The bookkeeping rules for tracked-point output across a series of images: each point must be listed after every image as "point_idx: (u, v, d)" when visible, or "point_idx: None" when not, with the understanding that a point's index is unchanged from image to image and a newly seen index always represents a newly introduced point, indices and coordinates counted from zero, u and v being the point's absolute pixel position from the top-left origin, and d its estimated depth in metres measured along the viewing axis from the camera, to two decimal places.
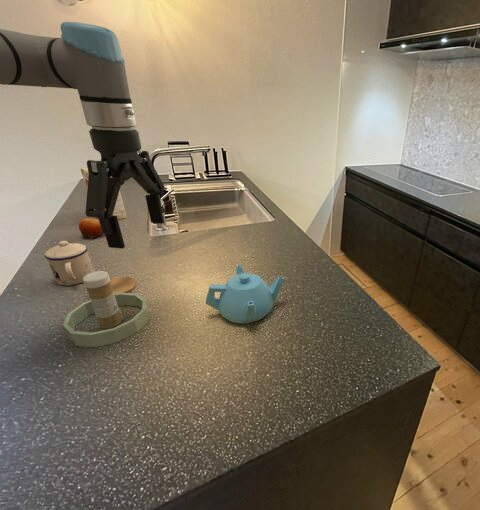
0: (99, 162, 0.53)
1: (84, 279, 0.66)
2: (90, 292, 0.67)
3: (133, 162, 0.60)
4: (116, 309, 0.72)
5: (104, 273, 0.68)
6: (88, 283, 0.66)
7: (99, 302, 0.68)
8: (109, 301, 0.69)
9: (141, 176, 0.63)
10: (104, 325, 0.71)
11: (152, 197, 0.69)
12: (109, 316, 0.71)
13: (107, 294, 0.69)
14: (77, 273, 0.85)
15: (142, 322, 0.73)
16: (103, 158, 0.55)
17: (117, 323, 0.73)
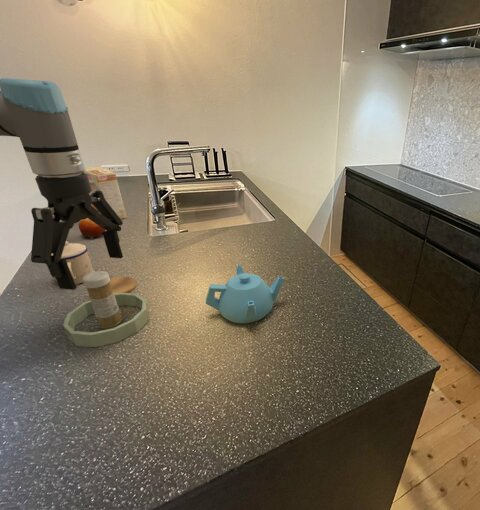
0: (43, 210, 0.54)
1: (84, 279, 0.66)
2: (90, 292, 0.67)
3: (84, 204, 0.61)
4: (116, 309, 0.72)
5: (104, 273, 0.68)
6: (88, 283, 0.66)
7: (99, 302, 0.68)
8: (109, 301, 0.69)
9: (94, 215, 0.64)
10: (104, 325, 0.71)
11: (109, 233, 0.70)
12: (109, 316, 0.71)
13: (107, 294, 0.69)
14: (77, 273, 0.85)
15: (142, 322, 0.73)
16: (50, 203, 0.56)
17: (117, 323, 0.73)
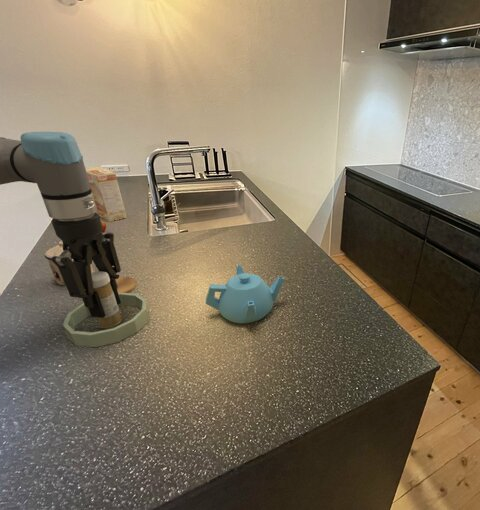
0: (62, 260, 0.58)
1: None
2: None
3: (96, 241, 0.64)
4: (116, 309, 0.72)
5: (104, 273, 0.68)
6: None
7: None
8: (109, 301, 0.69)
9: (100, 256, 0.67)
10: (104, 325, 0.71)
11: None
12: (109, 316, 0.71)
13: (107, 294, 0.69)
14: None
15: (142, 322, 0.73)
16: (65, 244, 0.60)
17: (117, 323, 0.73)
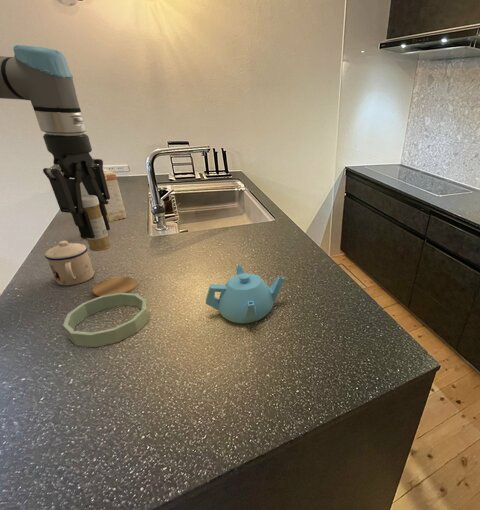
0: (53, 171, 0.63)
1: None
2: None
3: (85, 161, 0.69)
4: (105, 233, 0.76)
5: (93, 196, 0.73)
6: None
7: None
8: (98, 223, 0.74)
9: (89, 178, 0.71)
10: (94, 247, 0.75)
11: None
12: (98, 238, 0.75)
13: (96, 216, 0.73)
14: (77, 273, 0.85)
15: (142, 322, 0.73)
16: (56, 159, 0.64)
17: (106, 247, 0.77)
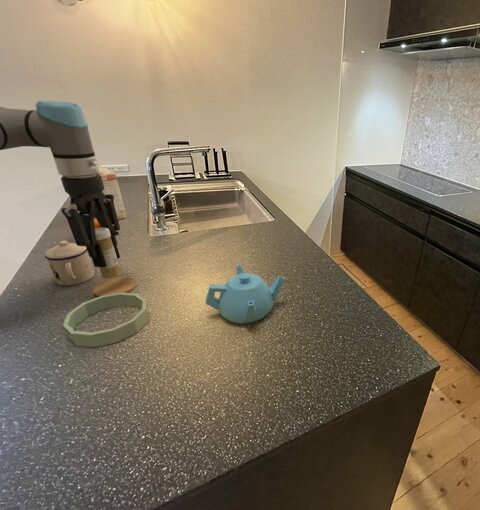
0: (70, 211, 0.69)
1: None
2: None
3: (98, 198, 0.75)
4: (116, 262, 0.82)
5: (105, 228, 0.79)
6: None
7: None
8: (110, 253, 0.80)
9: (102, 212, 0.77)
10: (106, 275, 0.82)
11: None
12: (110, 267, 0.81)
13: (108, 247, 0.79)
14: (77, 273, 0.85)
15: (142, 322, 0.73)
16: (72, 199, 0.70)
17: (117, 274, 0.83)
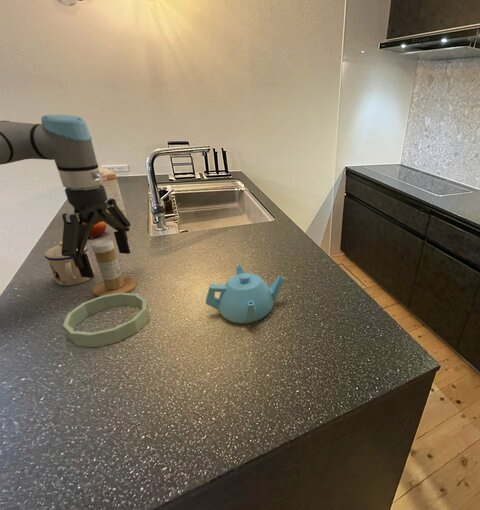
0: (71, 215, 0.69)
1: (92, 245, 0.78)
2: (97, 256, 0.79)
3: (101, 210, 0.76)
4: (119, 273, 0.84)
5: (109, 241, 0.81)
6: (95, 248, 0.78)
7: (105, 266, 0.80)
8: (113, 265, 0.82)
9: (108, 219, 0.80)
10: (109, 286, 0.83)
11: (119, 233, 0.85)
12: (113, 278, 0.83)
13: (111, 259, 0.81)
14: (77, 273, 0.85)
15: (142, 322, 0.73)
16: (76, 210, 0.72)
17: (120, 285, 0.85)
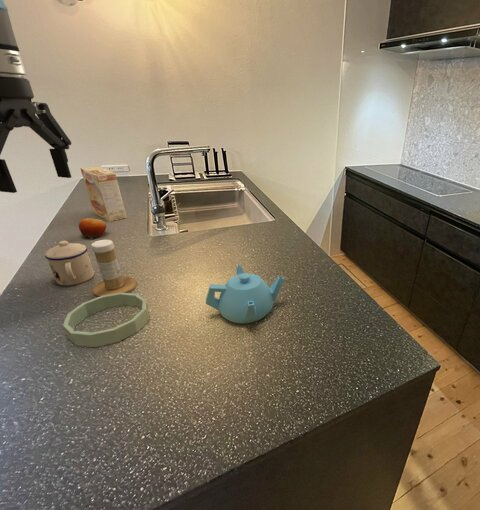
0: None
1: (92, 245, 0.78)
2: (97, 256, 0.79)
3: (26, 110, 0.62)
4: (119, 273, 0.84)
5: (109, 241, 0.81)
6: (95, 248, 0.78)
7: (105, 266, 0.80)
8: (113, 265, 0.82)
9: (38, 126, 0.66)
10: (109, 286, 0.83)
11: (56, 150, 0.71)
12: (113, 278, 0.83)
13: (111, 259, 0.81)
14: (77, 273, 0.85)
15: (142, 322, 0.73)
16: None
17: (120, 285, 0.85)
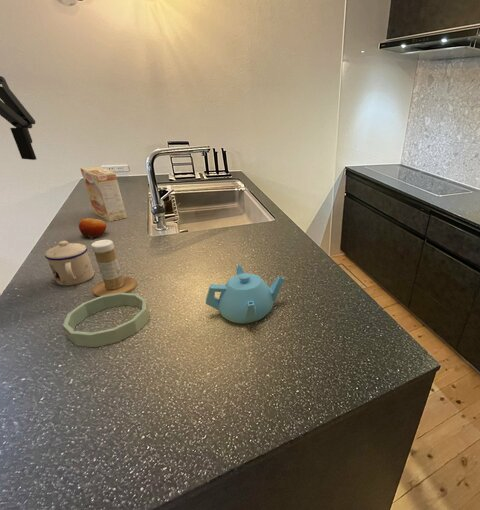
0: None
1: (92, 245, 0.78)
2: (97, 256, 0.79)
3: None
4: (119, 273, 0.84)
5: (109, 241, 0.81)
6: (95, 248, 0.78)
7: (105, 266, 0.80)
8: (113, 265, 0.82)
9: None
10: (109, 286, 0.83)
11: (17, 129, 0.66)
12: (113, 278, 0.83)
13: (111, 259, 0.81)
14: (77, 273, 0.85)
15: (142, 322, 0.73)
16: None
17: (120, 285, 0.85)
